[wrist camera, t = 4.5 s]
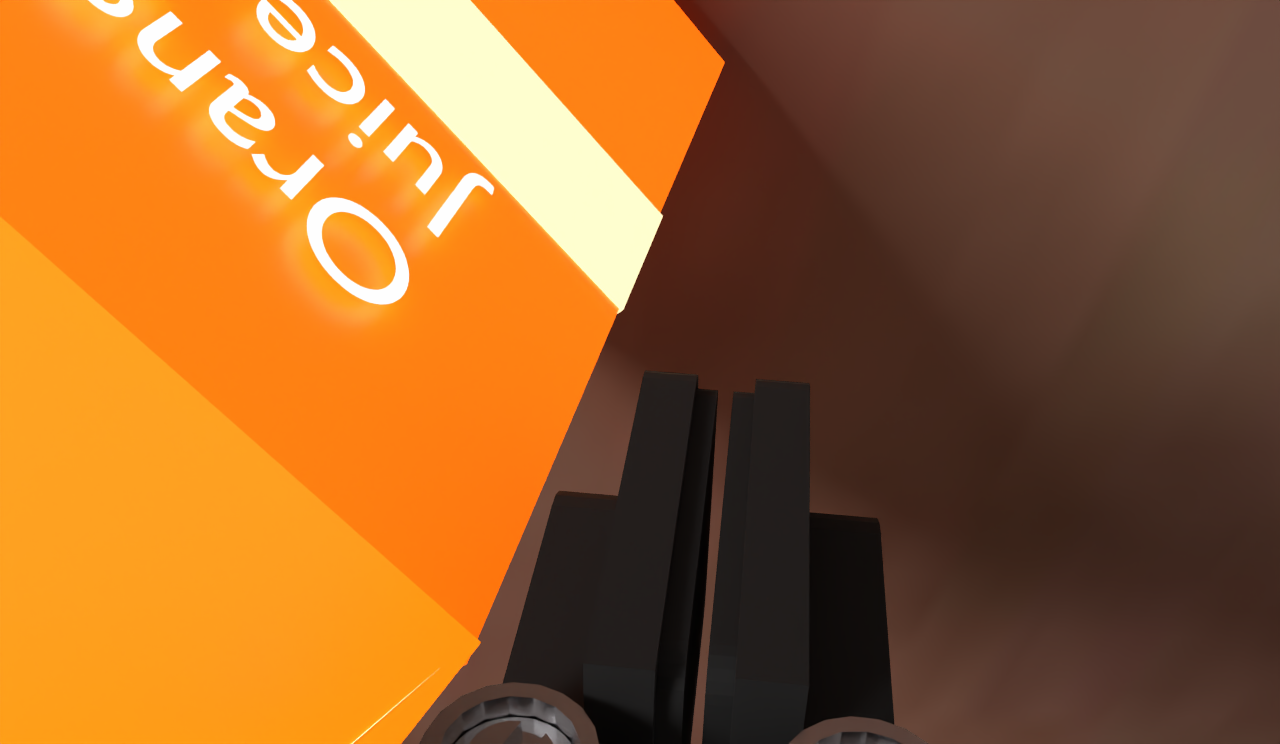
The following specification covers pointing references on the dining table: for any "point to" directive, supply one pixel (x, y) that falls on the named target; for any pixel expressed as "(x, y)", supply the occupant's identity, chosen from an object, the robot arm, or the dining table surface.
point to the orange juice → (300, 339)
